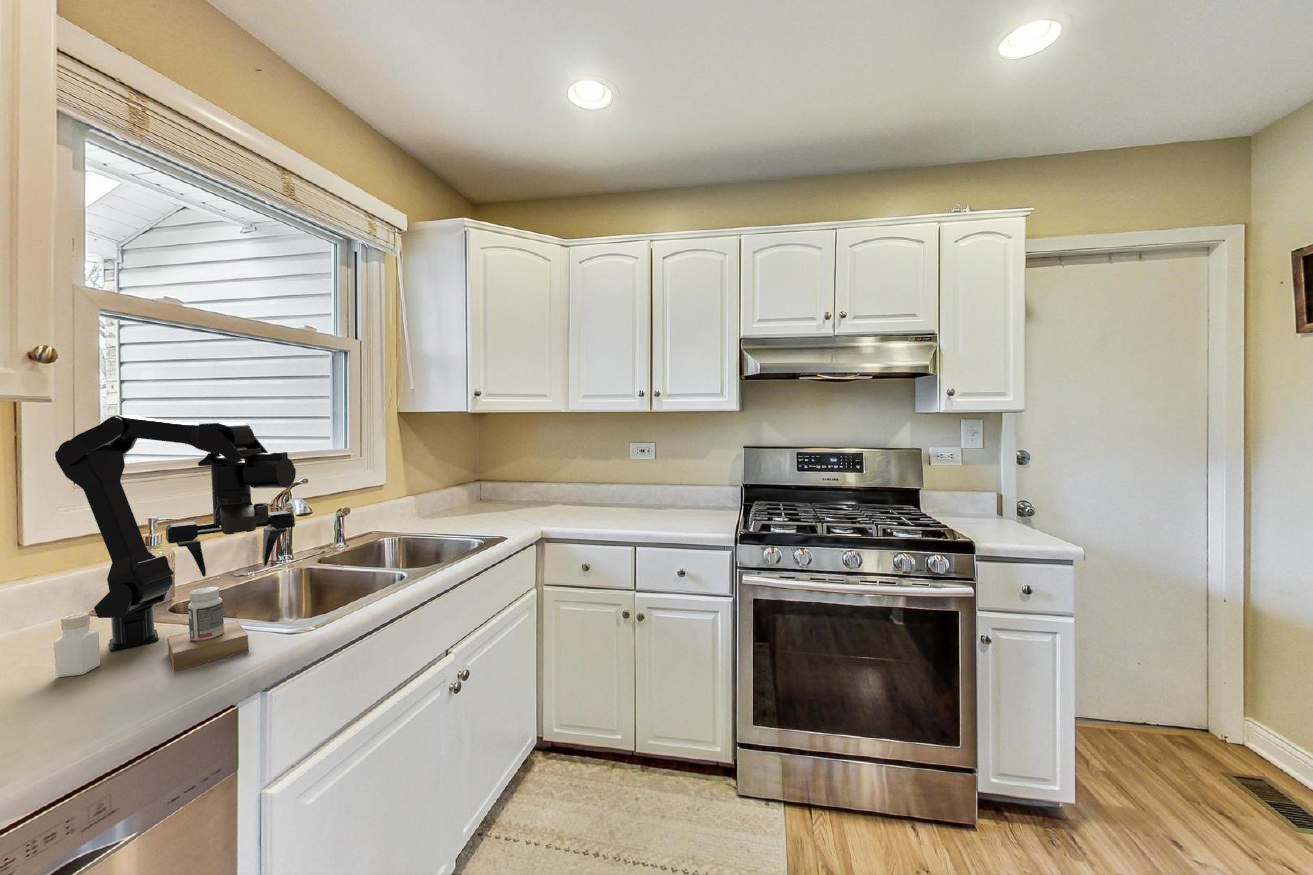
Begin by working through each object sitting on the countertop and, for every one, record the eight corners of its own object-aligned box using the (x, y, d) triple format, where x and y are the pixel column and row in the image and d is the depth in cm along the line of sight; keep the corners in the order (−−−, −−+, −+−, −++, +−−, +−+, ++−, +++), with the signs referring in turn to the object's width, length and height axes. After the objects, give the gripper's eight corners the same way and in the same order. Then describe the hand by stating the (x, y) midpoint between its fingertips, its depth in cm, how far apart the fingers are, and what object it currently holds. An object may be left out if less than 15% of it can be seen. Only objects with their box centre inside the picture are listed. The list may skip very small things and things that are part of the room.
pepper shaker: (102, 665, 92) (99, 610, 92) (83, 675, 88) (79, 618, 88) (74, 667, 91) (71, 612, 91) (53, 678, 87) (50, 621, 87)
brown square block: (168, 653, 96) (167, 636, 96) (238, 636, 103) (237, 620, 103) (174, 671, 89) (173, 653, 89) (248, 651, 96) (247, 634, 96)
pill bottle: (230, 630, 99) (228, 585, 98) (210, 641, 94) (207, 593, 94) (204, 631, 98) (201, 586, 98) (182, 641, 94) (179, 594, 93)
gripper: (168, 499, 89) (173, 592, 90) (300, 487, 103) (303, 568, 103) (163, 493, 97) (168, 578, 98) (286, 482, 110) (289, 558, 111)
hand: (235, 570), depth 102 cm, fingers open, 9 cm apart
